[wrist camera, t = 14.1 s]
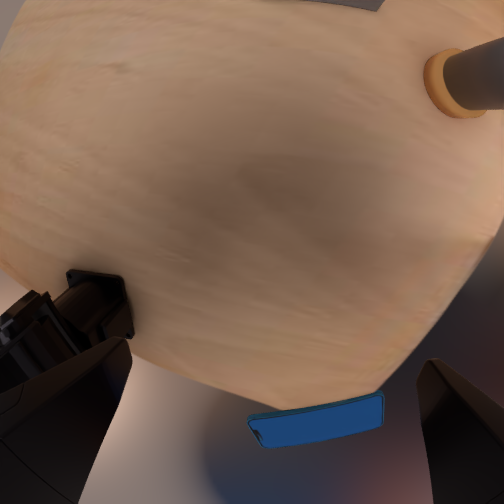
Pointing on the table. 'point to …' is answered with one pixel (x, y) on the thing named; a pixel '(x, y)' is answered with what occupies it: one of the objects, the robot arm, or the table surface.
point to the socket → (356, 3)
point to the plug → (467, 80)
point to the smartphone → (318, 421)
